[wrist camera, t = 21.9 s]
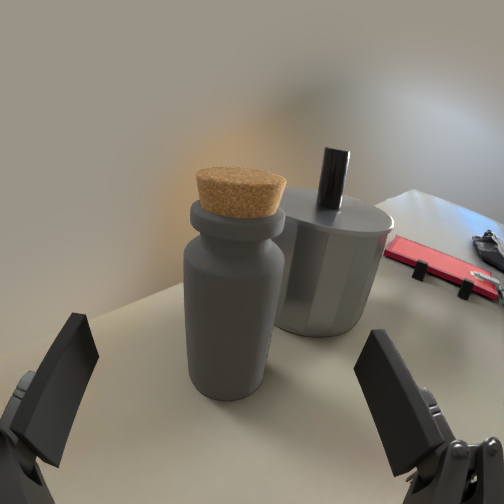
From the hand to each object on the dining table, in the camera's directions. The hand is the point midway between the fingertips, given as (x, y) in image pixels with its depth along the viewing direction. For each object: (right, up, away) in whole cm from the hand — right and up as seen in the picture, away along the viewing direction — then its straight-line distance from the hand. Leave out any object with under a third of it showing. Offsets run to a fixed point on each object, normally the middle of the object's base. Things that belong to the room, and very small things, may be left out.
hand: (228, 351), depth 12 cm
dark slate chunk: (+63, +3, +40) cm, 75 cm away
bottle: (-1, -5, +9) cm, 10 cm away
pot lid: (+8, +8, +15) cm, 19 cm away
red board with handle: (+37, -1, +27) cm, 46 cm away
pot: (+7, -1, +19) cm, 21 cm away
